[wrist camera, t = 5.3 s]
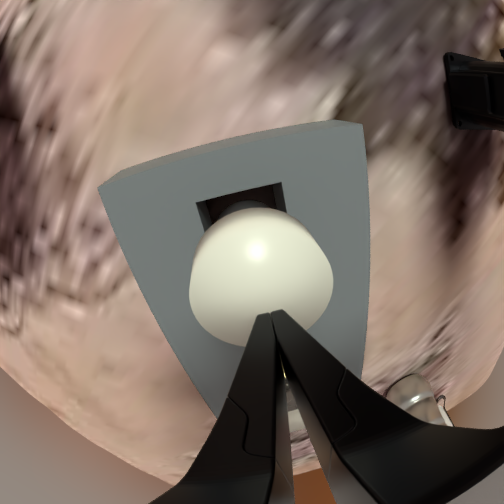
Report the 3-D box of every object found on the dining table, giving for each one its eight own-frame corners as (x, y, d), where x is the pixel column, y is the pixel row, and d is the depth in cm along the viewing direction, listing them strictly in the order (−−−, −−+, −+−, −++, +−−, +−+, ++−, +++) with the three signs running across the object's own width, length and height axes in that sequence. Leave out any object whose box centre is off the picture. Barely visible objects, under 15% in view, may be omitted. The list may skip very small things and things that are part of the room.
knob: (287, 172, 14) (327, 212, 9) (301, 260, 16) (335, 328, 11) (185, 197, 14) (167, 251, 9) (213, 281, 16) (213, 357, 11)
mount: (333, 119, 16) (362, 124, 13) (346, 373, 29) (357, 401, 25) (120, 170, 16) (97, 187, 13) (224, 402, 29) (226, 432, 25)
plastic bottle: (424, 378, 34) (478, 482, 16) (386, 402, 35) (431, 510, 17) (419, 361, 31) (484, 481, 13) (376, 388, 32) (429, 514, 14)
